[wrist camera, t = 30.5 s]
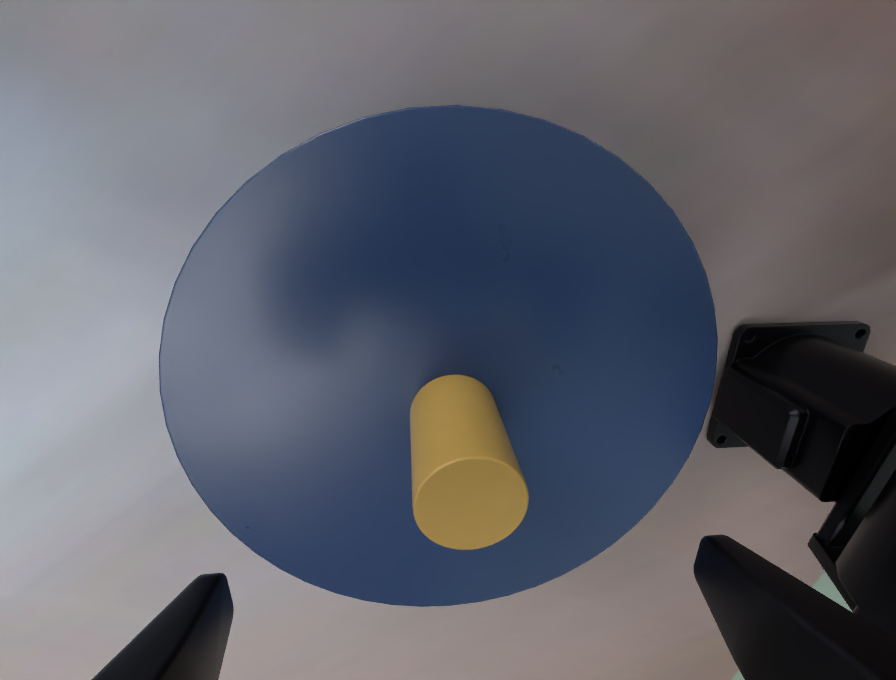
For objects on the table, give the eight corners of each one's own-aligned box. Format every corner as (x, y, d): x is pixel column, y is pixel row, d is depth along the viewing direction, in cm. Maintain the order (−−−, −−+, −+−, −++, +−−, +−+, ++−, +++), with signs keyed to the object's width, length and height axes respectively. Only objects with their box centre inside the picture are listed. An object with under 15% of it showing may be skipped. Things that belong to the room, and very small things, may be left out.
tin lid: (753, 114, 12) (973, 84, 8) (649, 565, 18) (734, 704, 14) (108, 104, 11) (-122, 59, 6) (229, 597, 17) (162, 766, 12)
